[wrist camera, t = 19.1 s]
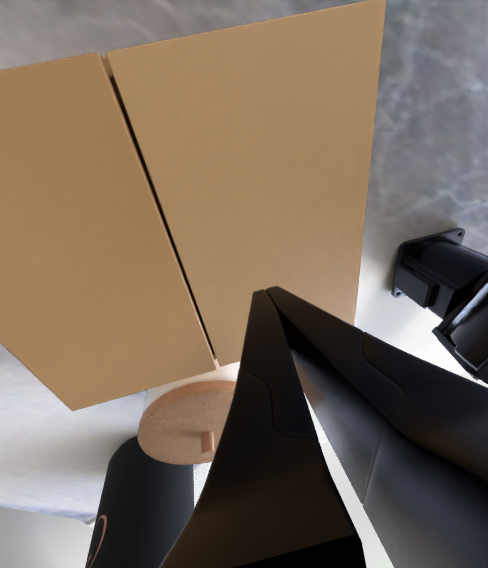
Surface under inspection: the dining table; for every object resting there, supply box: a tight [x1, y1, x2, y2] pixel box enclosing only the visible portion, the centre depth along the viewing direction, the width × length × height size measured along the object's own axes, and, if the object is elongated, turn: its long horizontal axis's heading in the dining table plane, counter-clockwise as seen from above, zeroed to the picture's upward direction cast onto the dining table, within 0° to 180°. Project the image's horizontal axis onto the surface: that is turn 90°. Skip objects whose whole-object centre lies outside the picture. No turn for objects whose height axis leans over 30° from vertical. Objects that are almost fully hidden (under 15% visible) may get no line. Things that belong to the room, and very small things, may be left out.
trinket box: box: [137, 359, 240, 465], centre depth 23 cm, size 11×11×9 cm
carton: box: [0, 52, 217, 411], centre depth 14 cm, size 17×14×9 cm
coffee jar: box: [85, 436, 194, 568], centre depth 27 cm, size 11×11×18 cm
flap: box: [106, 0, 386, 367], centre depth 11 cm, size 8×14×1 cm, turn 11°
